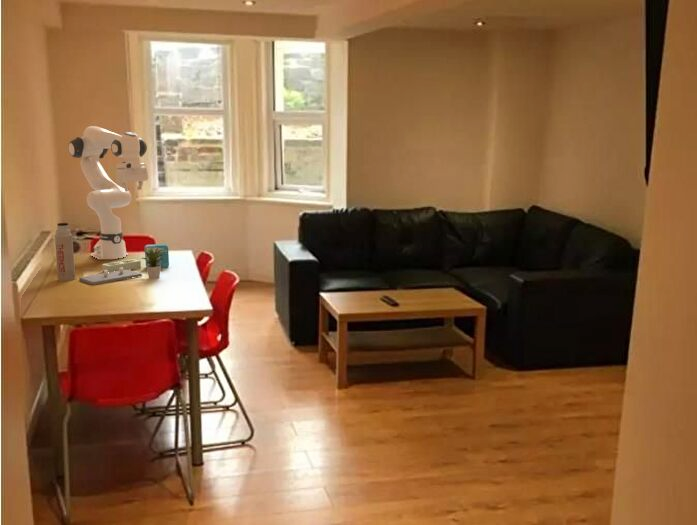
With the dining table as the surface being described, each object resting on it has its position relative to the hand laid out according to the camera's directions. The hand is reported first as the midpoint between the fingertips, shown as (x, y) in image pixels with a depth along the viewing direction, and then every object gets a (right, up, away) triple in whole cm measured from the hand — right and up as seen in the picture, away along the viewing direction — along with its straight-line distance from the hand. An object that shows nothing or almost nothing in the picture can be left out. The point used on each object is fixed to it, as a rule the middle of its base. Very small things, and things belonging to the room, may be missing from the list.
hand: (133, 190), depth 376 cm
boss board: (-5, -46, -20) cm, 50 cm away
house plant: (+16, -46, -20) cm, 53 cm away
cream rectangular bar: (-6, -42, -1) cm, 42 cm away
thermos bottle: (-26, -46, -23) cm, 58 cm away
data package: (+11, -41, +7) cm, 43 cm away
